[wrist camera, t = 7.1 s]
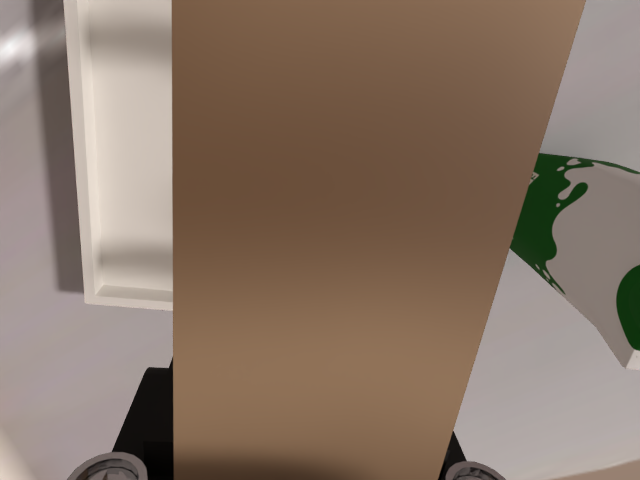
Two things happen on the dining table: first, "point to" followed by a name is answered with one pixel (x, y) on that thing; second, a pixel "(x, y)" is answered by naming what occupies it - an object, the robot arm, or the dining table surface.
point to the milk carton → (587, 243)
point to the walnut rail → (345, 222)
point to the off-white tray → (123, 148)
